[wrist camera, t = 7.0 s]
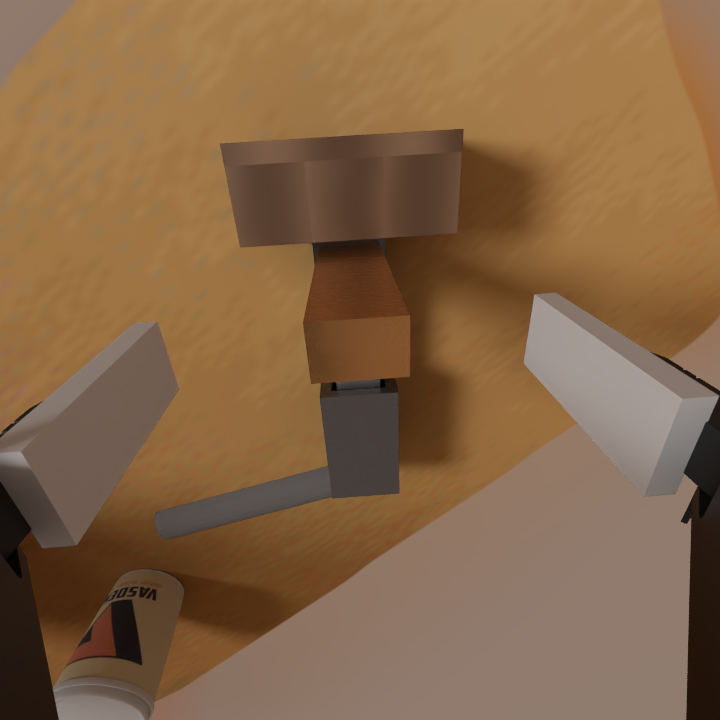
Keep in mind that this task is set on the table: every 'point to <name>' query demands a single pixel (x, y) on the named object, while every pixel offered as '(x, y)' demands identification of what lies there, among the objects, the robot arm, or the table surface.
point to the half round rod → (244, 504)
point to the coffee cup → (122, 651)
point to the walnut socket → (345, 187)
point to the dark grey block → (362, 439)
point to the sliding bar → (355, 317)
